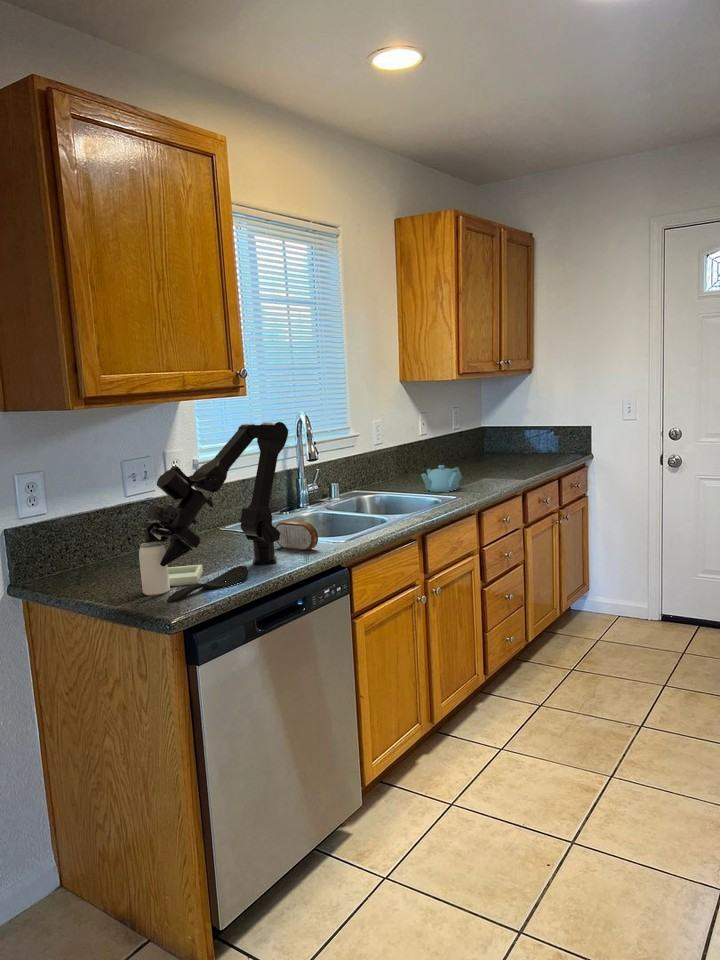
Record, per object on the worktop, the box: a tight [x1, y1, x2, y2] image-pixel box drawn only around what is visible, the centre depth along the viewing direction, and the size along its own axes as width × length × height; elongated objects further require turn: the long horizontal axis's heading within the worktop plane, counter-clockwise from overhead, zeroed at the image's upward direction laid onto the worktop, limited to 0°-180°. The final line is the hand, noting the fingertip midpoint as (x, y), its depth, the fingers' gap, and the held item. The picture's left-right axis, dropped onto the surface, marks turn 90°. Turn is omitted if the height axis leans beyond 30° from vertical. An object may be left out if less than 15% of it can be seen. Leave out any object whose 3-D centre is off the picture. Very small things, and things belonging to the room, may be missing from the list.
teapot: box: [421, 464, 463, 491], centre depth 312 cm, size 15×15×11 cm
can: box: [138, 542, 171, 597], centre depth 181 cm, size 6×6×12 cm
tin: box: [274, 519, 319, 551], centre depth 220 cm, size 15×3×8 cm, turn 56°
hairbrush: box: [166, 562, 249, 604], centre depth 183 cm, size 8×4×25 cm
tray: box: [168, 564, 204, 587], centre depth 193 cm, size 12×12×2 cm
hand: (151, 563), depth 181 cm, fingers open, 9 cm apart
